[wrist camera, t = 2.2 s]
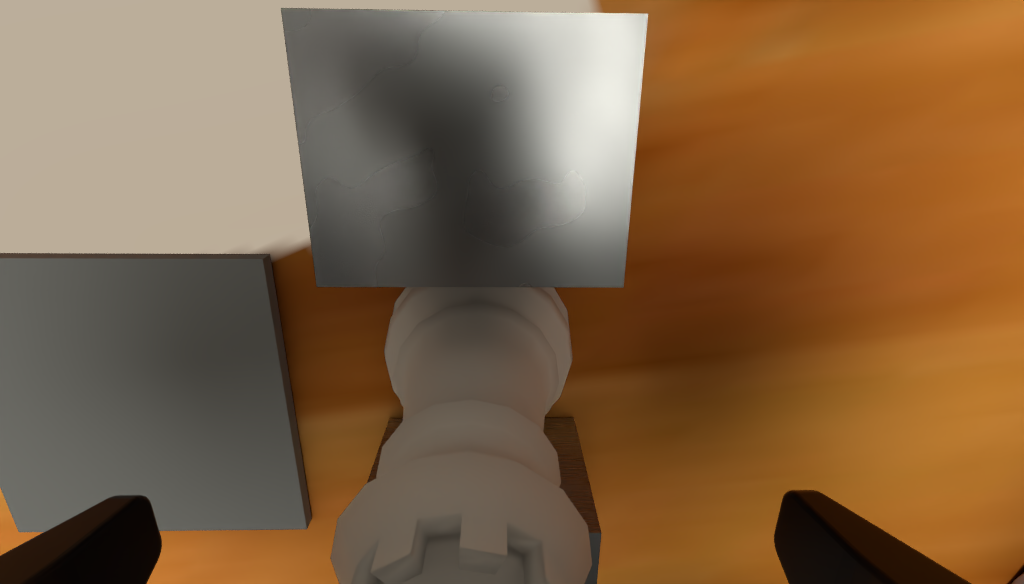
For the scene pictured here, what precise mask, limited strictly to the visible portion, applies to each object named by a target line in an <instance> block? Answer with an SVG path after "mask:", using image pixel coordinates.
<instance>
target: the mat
mask: <svg viewBox="0 0 1024 584" xmlns="http://www.w3.org/2000/svg"><path fill="white" fill-rule="evenodd" d="M0 488H1V490H2V493H3V495H4V497H5V500H6V502H7V505H8V507H9V510H10V512H11V514H12V517H13V519H14V522H15V524H16V526H17V529H18V531H19V532H46V531H47V530H49V529H51V528H53V527H55V526H57V525H59V524H61V523H62V522H64V521H66V520H68V519H70V518H72V517H74V516H76V515H77V514H79V513H81V512H83V511H85V510H87V509H89V508H91V507H92V506H94V505H96V504H98V503H100V502H102V501H104V500H105V499H107V498H110V497H112V496H117V495H142V496H146V497H147V498H148V499H149V500H150V502H151V504H152V508H153V511H154V515H155V518H156V522H157V525H158V529H159V531H185V530H283V529H307V528H308V526H309V523H310V521H311V519H312V517H311V511H310V505H309V498H308V492H307V486H306V479H305V473H304V467H303V460H302V454H301V448H300V441H299V435H298V429H297V422H296V416H295V410H294V403H293V397H292V391H291V384H290V378H289V372H288V365H287V359H286V353H285V346H284V340H283V334H282V327H281V321H280V315H279V308H278V302H277V296H276V289H275V283H274V277H273V271H272V264H271V258H270V254H50V253H45V254H44V253H42V254H40V253H38V254H37V253H27V254H26V253H19V254H18V253H0Z"/></svg>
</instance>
